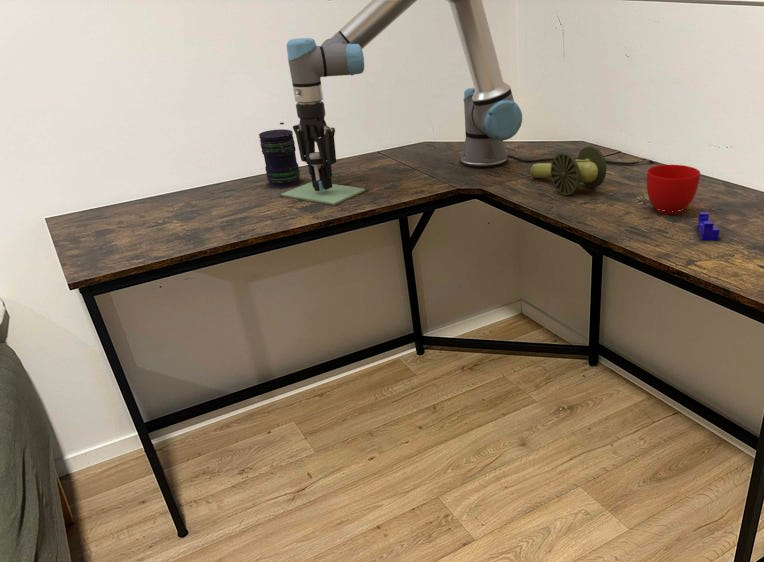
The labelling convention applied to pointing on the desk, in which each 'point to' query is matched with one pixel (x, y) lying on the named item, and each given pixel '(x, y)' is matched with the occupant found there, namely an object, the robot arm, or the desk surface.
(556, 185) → the cannon
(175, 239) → the desk surface
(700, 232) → the blue stepped block
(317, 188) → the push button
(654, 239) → the desk surface
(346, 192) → the desk mat
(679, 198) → the ceramic cup
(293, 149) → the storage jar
